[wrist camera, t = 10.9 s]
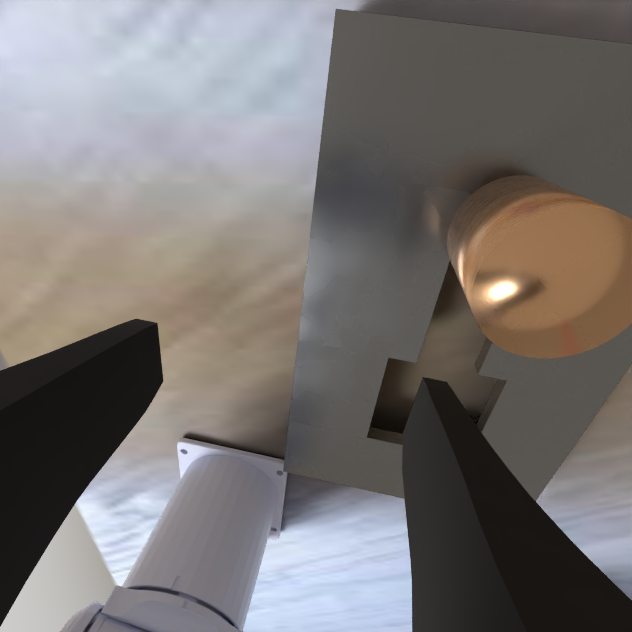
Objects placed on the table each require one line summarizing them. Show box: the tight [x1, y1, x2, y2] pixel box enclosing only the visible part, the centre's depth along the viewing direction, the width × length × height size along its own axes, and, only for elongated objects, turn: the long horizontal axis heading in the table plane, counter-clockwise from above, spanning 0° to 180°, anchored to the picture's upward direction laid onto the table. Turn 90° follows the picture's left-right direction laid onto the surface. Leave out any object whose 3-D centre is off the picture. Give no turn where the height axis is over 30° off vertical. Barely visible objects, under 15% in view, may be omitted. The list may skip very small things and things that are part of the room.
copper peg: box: [447, 175, 632, 359], centre depth 12 cm, size 4×4×8 cm
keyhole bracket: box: [283, 9, 632, 501], centre depth 17 cm, size 22×14×3 cm, turn 173°
